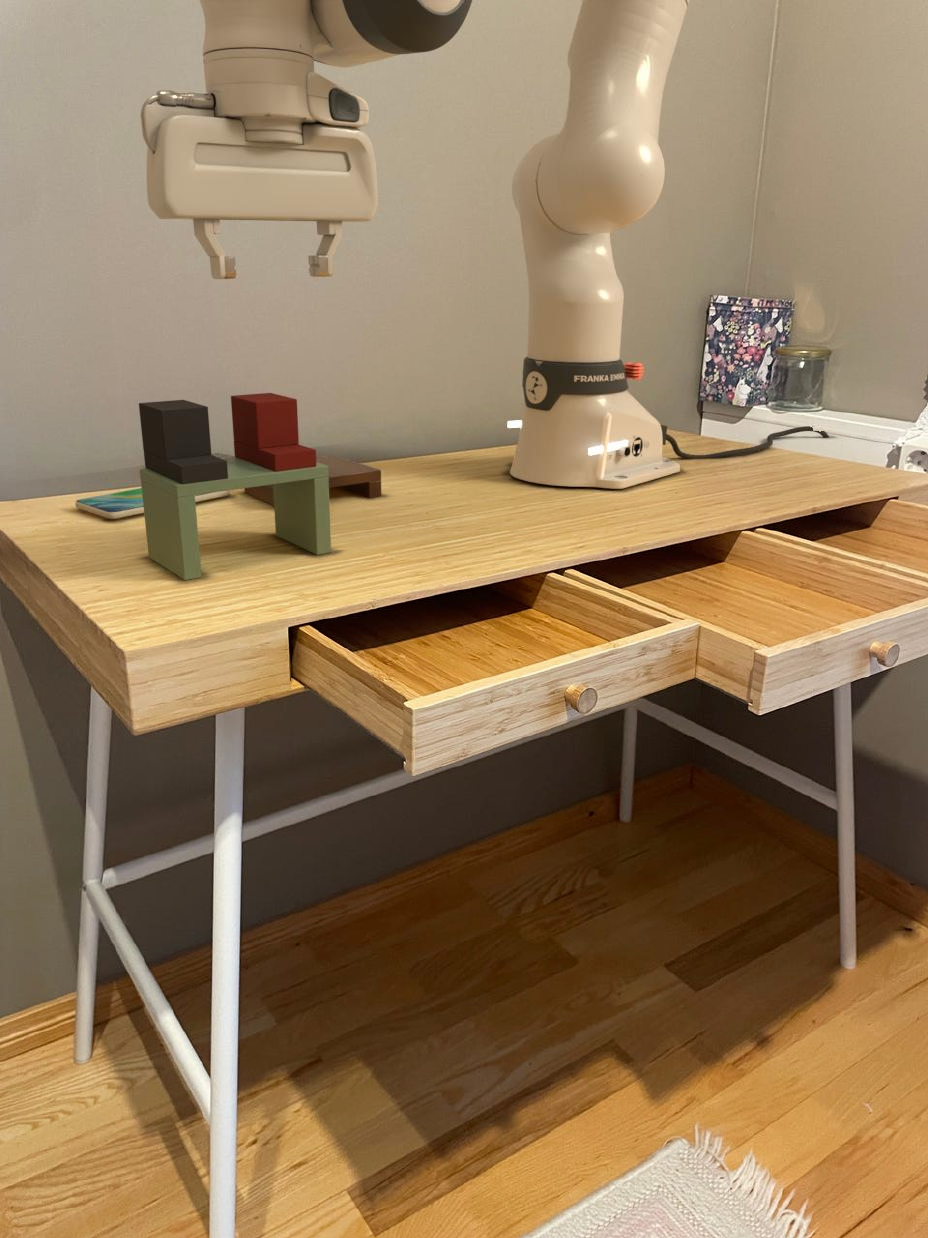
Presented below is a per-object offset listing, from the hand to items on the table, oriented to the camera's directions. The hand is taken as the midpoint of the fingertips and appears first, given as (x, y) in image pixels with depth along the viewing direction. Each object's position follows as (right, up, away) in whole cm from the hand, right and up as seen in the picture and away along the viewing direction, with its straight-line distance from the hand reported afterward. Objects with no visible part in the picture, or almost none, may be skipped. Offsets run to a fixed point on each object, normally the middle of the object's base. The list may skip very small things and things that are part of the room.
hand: (274, 277), depth 84 cm
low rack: (-1, -16, +25) cm, 30 cm away
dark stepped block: (-7, -17, -3) cm, 19 cm away
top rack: (-4, -24, +3) cm, 24 cm away
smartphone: (-17, -17, +20) cm, 31 cm away
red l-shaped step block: (0, -16, +2) cm, 16 cm away
